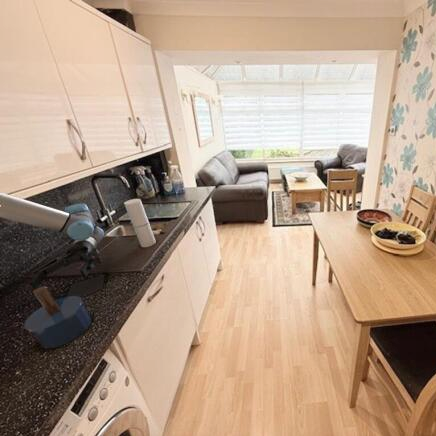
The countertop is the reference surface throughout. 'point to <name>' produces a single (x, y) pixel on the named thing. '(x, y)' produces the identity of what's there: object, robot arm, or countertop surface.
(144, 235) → the cylindrical container
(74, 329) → the pot
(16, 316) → the countertop surface
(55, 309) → the lid
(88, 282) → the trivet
